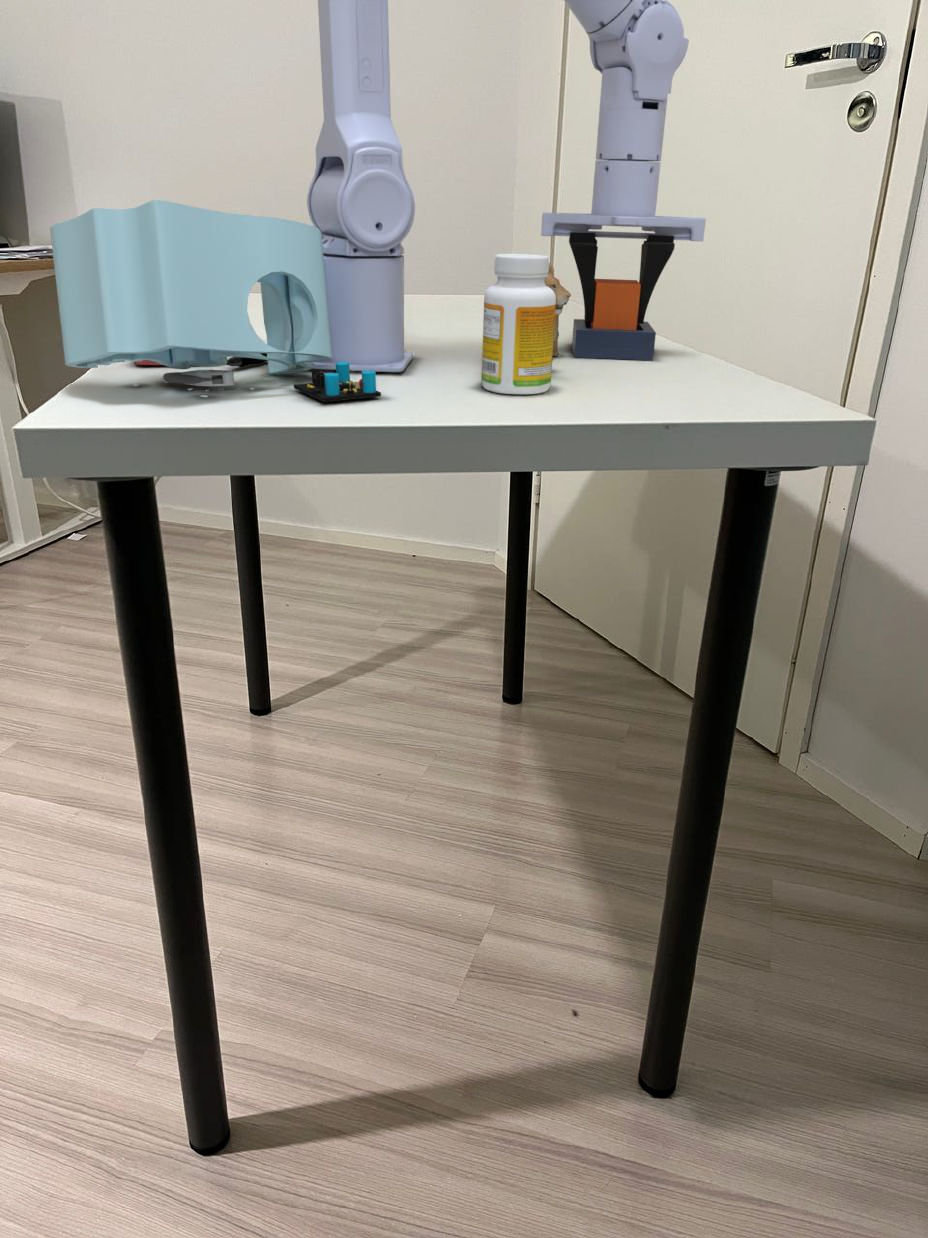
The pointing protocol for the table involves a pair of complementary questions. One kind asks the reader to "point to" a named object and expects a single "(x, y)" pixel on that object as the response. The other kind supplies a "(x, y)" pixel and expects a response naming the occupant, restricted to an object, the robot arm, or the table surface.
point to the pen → (245, 361)
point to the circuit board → (340, 385)
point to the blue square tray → (613, 342)
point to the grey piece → (201, 377)
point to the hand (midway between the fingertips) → (613, 321)
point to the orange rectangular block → (616, 304)
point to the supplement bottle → (518, 326)
